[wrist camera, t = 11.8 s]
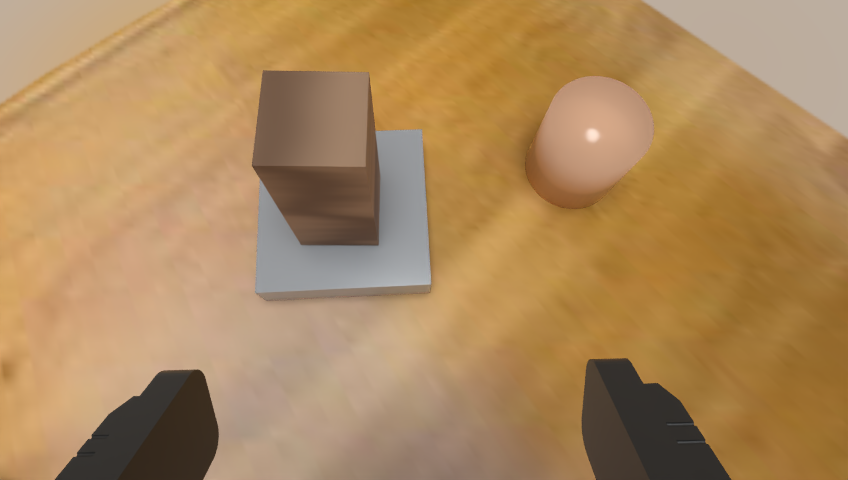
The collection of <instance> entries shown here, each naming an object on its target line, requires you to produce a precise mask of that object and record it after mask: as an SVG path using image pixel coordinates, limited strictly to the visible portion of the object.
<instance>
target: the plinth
mask: <svg viewBox="0 0 848 480" xmlns="http://www.w3.org/2000/svg"><path fill="white" fill-rule="evenodd" d="M376 140H377V149H378V158H379V167H380V211H379V245H301V244H300V242H299V241H298V239H297V238H296V236H295V234H294V233H293V231H292V230H291V228H290V226H289V225H288V223H287V221H286V220H285V218H284V217H283V215H282V213H281V212H280V210H279V209H278V207H277V205H276V204H275V202H274V200H273V199H272V197H271V196H270V194H269V192H268V191H267V189H266V188H265V186H264V184H263V183H262V181H261V179H260V190H259V214H258V238H257V262H256V286H255V293H256V294H257V295H259V296H260V297H262V298H263V299H265V300H266V301H271V300H292V299H313V298H334V297H355V296H376V295H397V294H418V293H430V288H431V273H430V257H429V240H428V224H427V207H426V190H425V174H424V157H423V141H422V129H421V130H393V131H376Z"/></svg>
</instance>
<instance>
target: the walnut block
mask: <svg viewBox="0 0 848 480" xmlns="http://www.w3.org/2000/svg"><path fill="white" fill-rule="evenodd" d="M252 167H253V168H254V170H255V171H256V173H257V175H258V176H259V178H260V179H261V181H262V183H263V184H264V186H265V188H266V189H267V191H268V192H269V194H270V196H271V197H272V199H273V200H274V202H275V204H276V205H277V207H278V209H279V210H280V212H281V213H282V215H283V217H284V218H285V220H286V221H287V223H288V225H289V226H290V228H291V230H292V231H293V233H294V234H295V236H296V238H297V239H298V241H299V242H300V244H301V245H379V211H380V167H379V158H378V149H377V140H376V131H375V122H374V113H373V104H372V95H371V86H370V77H369V72H320V71H263V74H262V83H261V92H260V100H259V109H258V117H257V126H256V135H255V143H254V152H253V161H252Z"/></svg>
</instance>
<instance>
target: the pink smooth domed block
mask: <svg viewBox="0 0 848 480" xmlns="http://www.w3.org/2000/svg"><path fill="white" fill-rule="evenodd" d="M653 135H654V122H653V118H652V114H651V112H650V110H649V107H648V106H647V104H646V102H645V101H644V100H643V99H642V97H641V96H640V95H639V94H638V93H637V92H636V91H634V90H633V89H632V88H631V87H629V86H627V85H626V84H624V83H622V82H620V81H617V80H615V79H612V78H608V77H601V76H589V77H583V78H579V79H576V80H574V81H572V82H570V83H568V84H566V85H565V86H564V87H563V88H561V89H560V90H559V91H558V93H557V94H556V95H555V97H554V99H553V100H552V102H551V104H550V107H549V109H548V111H547V113H546V115H545V117H544V119H543V121H542V123H541V125H540V127H539V129H538V131H537V133H536V135H535V137H534V139H533V141H532V143H531V145H530V147H529V149H528V152H527V155H526V160H525V169H526V174H527V177H528V180H529V182H530V184H531V186H532V187H533V188H534V190H535V191H536V192H537V193H538V194H539V195H540V196H541V197H542V198H543V199H545V200H546V201H548V202H550V203H552V204H554V205H556V206H559V207H563V208H569V209H578V208H584V207H588V206H590V205H593V204H595V203H596V202H598V201H599V200H600V199H602V198H603V197H604V196H605V195H606V194H607V193H608V192H609V191H610V190H611V189H612V187H613V186H614V185H615V184H616V183H617V182H618V181H619V180H620V179H621V178H622V177H623V176H624V175H625V174H626V173H627V172H628V171H629V170H630V169H631V168H632V167H633V166H634V165H635V164H636V163H637V162H638V161H639V160H640V159H641V158H642V157H643V156H644V155H645V154H646V152H647V151H648V149H649V147H650V145H651V143H652V140H653Z"/></svg>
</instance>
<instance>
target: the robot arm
mask: <svg viewBox="0 0 848 480" xmlns="http://www.w3.org/2000/svg"><path fill="white" fill-rule="evenodd" d="M582 434H583V441H584V445H585V449H586V452H587V455H588V458H589V461H590V464H591V466H592V469H593V472H594V475H595V478H596V480H731V478H730V477H729V475H728V474H727V472H726V471H725V469H724V468H723V466H722V465H721V463H720V462H719V460H718V458H717V457H716V455H715V454H714V452H713V451H712V449H711V448H710V446H709V445H708V444H706V443H705V438H704V437H703V435H702V434H701V432H700V431H699V429H698V428H697V426H694V422H693V420H692V419H691V417H690V415H689V414H688V412H687V411H686V409H685V408H684V406H683V405H682V403H681V402H680V400H678V399H677V398H676V397H674V396H673V395H672V394H671V393H669V392H668V391H667V390H666V389H664V388H663V387H662V386H661V385H659V384H658V383H651V384H643V382H642V381H641V379H640V377H639V375H638V374H637V372H636V370H635V369H634V367H633V365H632V363H631V362H630V361H629V360H628V359H627V358H622V359H590V360H589V361H588V363H587V367H586V377H585V388H584V399H583V410H582ZM218 437H219V432H218V425H217V421H216V417H215V413H214V409H213V405H212V402H211V398H210V394H209V390H208V386H207V383H206V379H205V376H204V374H203V373H202V371H200V370H168V371H161V372H159V373H158V374H157V375H156V376H155V378H154V379H153V380H152V381H151V383H150V384H149V385H148V386H147V388H146V389H145V390H144V391H143V393H142V394H141V395H140V396H133V397H132V398H131V399H129V400H128V401H126V402H125V403H124V404H122V405H121V406H120V407H118V408H117V409H116V410H114V411H113V412H111V413H110V414H109V415H108V416H107V417H106V418H105V420H104V421H103V422H102V423H101V425H100V426H99V427H98V428H97V429H96V431H95V432H94V433H93V434H92V438H91V439H88V440H87V441H86V443H85V444H84V445H83V446H82V447H81V449H80V450H79V451H78V452H77V457H73V458H72V459H71V461H70V462H69V463H68V464H67V465H66V467H65V468H64V469H63V470H62V472H61V473H60V474H59V475H58V476H57V478H56V479H55V480H203V479H204V477H205V475H206V473H207V471H208V469H209V467H210V465H211V463H212V461H213V459H214V457H215V454H216V450H217V446H218Z"/></svg>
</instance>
